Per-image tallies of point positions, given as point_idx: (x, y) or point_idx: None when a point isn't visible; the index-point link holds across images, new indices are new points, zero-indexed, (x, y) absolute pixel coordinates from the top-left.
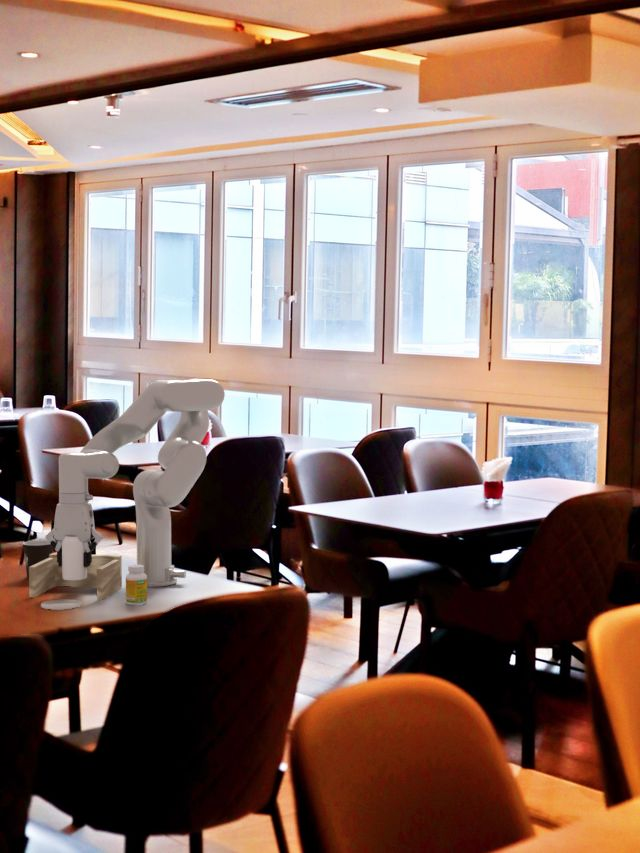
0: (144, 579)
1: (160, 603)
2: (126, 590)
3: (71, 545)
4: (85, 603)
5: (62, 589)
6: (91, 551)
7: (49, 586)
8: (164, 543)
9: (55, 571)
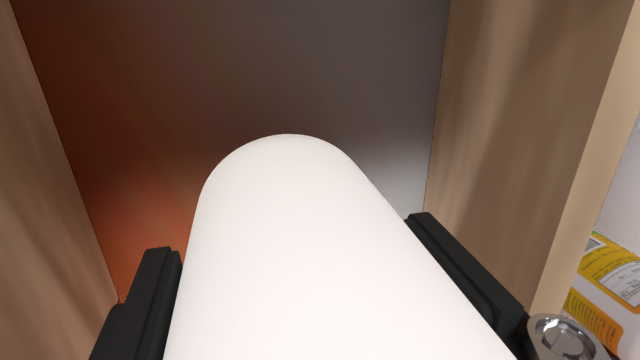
0: None
1: (633, 235)
2: (573, 316)
3: None
4: None
5: (134, 74)
6: (539, 329)
7: (33, 102)
8: None
9: None
